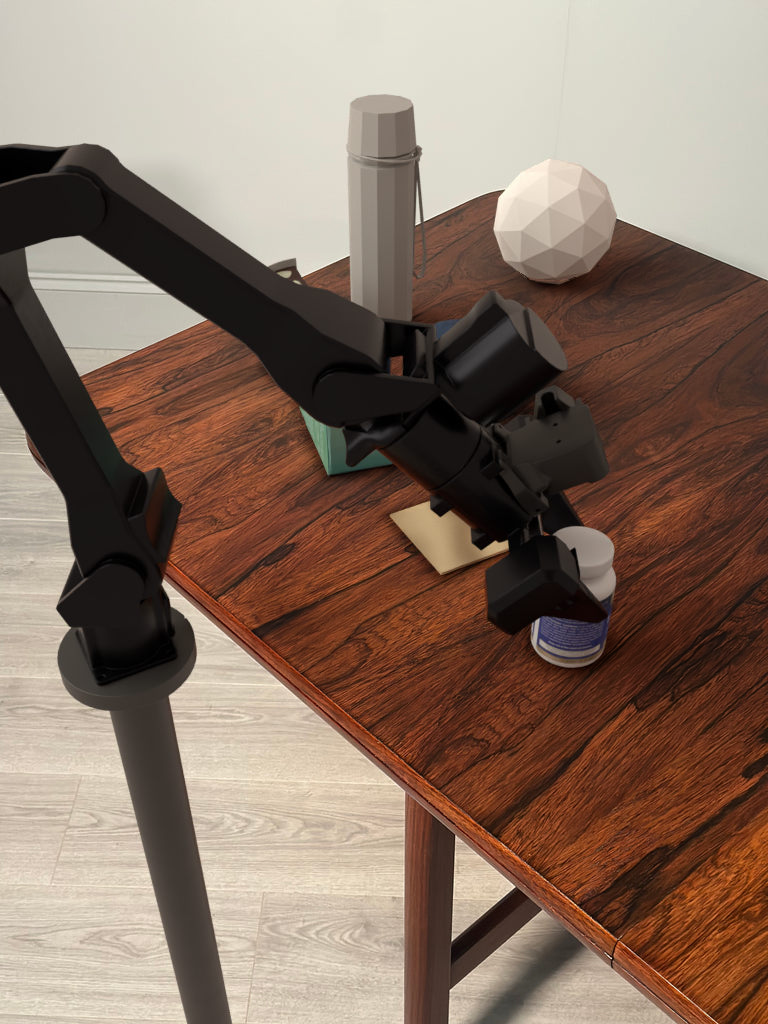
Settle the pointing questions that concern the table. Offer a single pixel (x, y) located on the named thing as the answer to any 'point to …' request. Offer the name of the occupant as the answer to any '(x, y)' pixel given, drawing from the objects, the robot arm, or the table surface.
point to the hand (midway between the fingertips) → (595, 579)
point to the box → (337, 448)
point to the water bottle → (383, 204)
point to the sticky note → (443, 538)
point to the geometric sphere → (554, 221)
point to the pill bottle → (595, 556)
